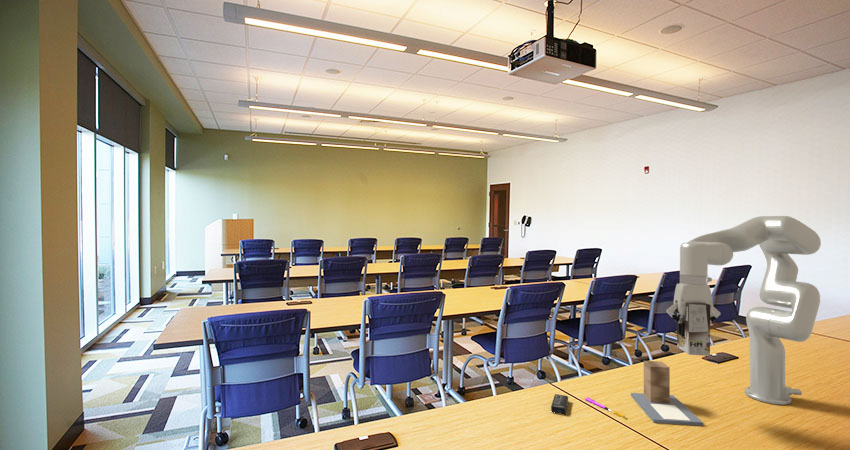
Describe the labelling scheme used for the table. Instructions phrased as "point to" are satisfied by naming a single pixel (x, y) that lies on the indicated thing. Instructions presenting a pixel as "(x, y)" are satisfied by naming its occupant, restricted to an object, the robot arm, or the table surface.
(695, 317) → the coffee box
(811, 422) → the table surface
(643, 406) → the board
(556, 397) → the multiport hub
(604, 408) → the magenta and yellow rod
